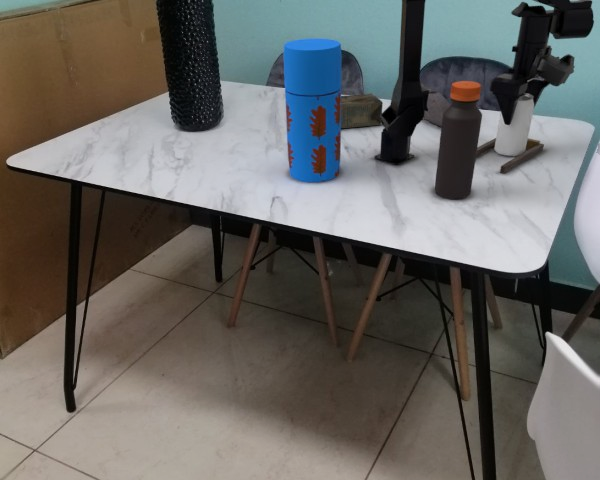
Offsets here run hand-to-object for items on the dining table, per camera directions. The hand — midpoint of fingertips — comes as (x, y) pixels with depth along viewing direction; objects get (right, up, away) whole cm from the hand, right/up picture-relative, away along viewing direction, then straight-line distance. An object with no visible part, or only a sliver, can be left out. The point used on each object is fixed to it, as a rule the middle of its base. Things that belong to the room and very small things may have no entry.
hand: (518, 119), depth 122 cm
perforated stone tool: (-13, +6, +22) cm, 26 cm away
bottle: (-17, -18, -12) cm, 28 cm away
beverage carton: (-36, +6, +23) cm, 43 cm away
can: (-1, -6, +4) cm, 7 cm away
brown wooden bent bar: (-3, -7, +2) cm, 8 cm away
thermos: (-44, -12, -2) cm, 45 cm away
